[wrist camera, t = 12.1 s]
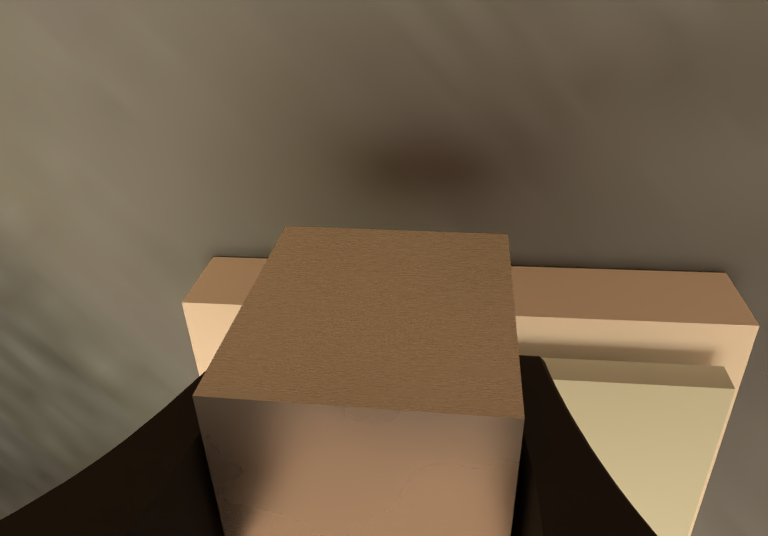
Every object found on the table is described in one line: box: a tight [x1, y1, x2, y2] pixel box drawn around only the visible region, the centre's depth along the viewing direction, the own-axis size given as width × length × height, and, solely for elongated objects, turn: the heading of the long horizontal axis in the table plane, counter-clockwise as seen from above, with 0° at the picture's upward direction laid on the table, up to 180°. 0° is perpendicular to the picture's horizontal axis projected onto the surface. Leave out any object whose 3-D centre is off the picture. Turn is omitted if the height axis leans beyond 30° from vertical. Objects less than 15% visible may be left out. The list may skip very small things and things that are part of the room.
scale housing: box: [182, 257, 759, 536], centre depth 25 cm, size 18×16×4 cm
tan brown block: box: [192, 226, 525, 536], centre depth 12 cm, size 4×4×5 cm
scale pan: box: [542, 358, 735, 536], centre depth 23 cm, size 13×14×1 cm
